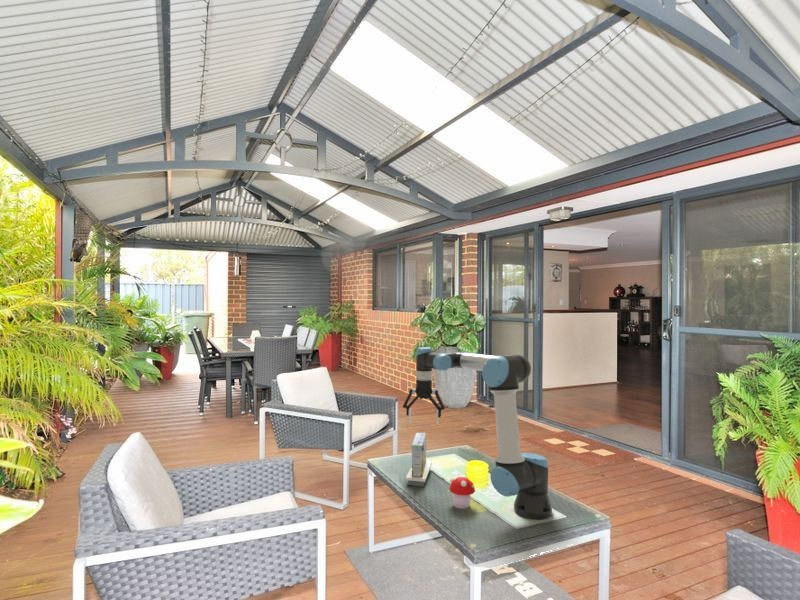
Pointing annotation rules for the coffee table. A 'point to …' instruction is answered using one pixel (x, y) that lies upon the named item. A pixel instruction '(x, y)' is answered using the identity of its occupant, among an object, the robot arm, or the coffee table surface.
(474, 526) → the coffee table surface
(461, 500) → the mushroom
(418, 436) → the snack box
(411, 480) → the stand
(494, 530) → the coffee table surface
